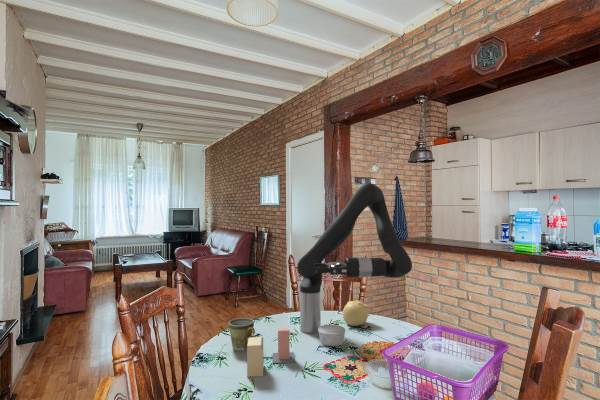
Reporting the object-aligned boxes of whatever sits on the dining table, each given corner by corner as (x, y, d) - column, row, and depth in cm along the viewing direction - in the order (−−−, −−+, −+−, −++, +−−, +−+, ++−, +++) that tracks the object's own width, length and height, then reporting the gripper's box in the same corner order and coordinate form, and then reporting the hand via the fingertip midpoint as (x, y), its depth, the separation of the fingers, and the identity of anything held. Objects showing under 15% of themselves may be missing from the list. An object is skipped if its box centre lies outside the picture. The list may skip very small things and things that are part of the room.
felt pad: (272, 354, 125) (272, 353, 125) (293, 353, 126) (293, 352, 126) (272, 363, 117) (272, 362, 117) (295, 362, 118) (295, 361, 118)
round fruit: (372, 323, 159) (372, 300, 160) (359, 329, 150) (359, 305, 151) (352, 318, 167) (351, 296, 167) (338, 324, 158) (338, 301, 158)
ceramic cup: (223, 347, 131) (223, 322, 131) (243, 340, 138) (243, 316, 139) (243, 357, 122) (243, 329, 123) (264, 349, 130) (264, 323, 130)
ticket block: (265, 366, 115) (265, 336, 115) (265, 376, 108) (265, 344, 108) (248, 367, 114) (248, 337, 115) (247, 377, 107) (247, 345, 108)
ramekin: (327, 349, 129) (327, 335, 129) (313, 339, 139) (313, 327, 139) (351, 344, 134) (350, 330, 134) (335, 335, 144) (335, 322, 144)
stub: (288, 355, 123) (288, 327, 123) (289, 358, 120) (289, 330, 120) (278, 355, 123) (277, 328, 123) (278, 359, 120) (278, 330, 120)
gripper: (353, 255, 134) (313, 255, 132) (363, 260, 120) (318, 260, 118) (353, 273, 133) (313, 274, 132) (363, 281, 119) (318, 282, 118)
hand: (315, 268), depth 125 cm, fingers open, 8 cm apart
